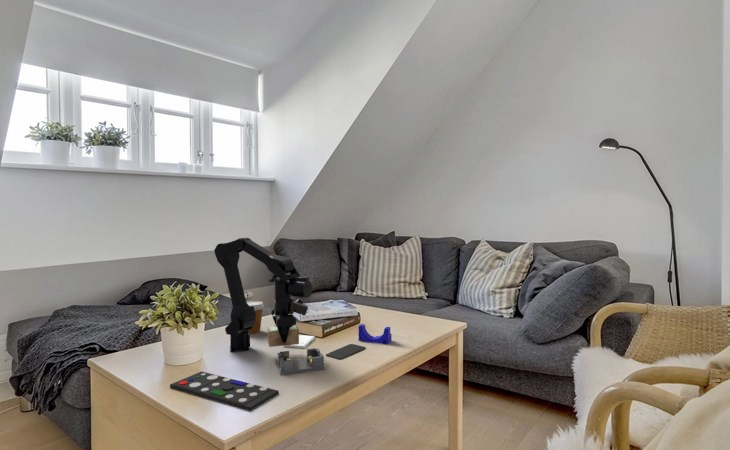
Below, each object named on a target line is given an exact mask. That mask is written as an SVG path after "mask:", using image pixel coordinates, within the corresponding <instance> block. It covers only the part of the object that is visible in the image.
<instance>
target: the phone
mask: <svg viewBox="0 0 730 450" xmlns="http://www.w3.org/2000/svg"><path fill="white" fill-rule="evenodd" d="M364 350H366V347H365V346H362V345H360V344H354V343H350V344H347V345H344V346H342V347H339V348H337V349H334V350H332V351H330V352H328V353H326V354H325V356H326V357H327V358H332V359H335V360H344V359H347V358H348V357H351V356H354V355H355V354H357V353H359V352H363V351H364Z"/></svg>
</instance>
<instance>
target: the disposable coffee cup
mask: <svg viewBox="0 0 730 450" xmlns="http://www.w3.org/2000/svg"><path fill="white" fill-rule="evenodd" d="M246 302H247V304H248V305H249V306H253V307H254V311H255V314H256V317H255V319H256V321H255V323H254V325H253V327H252V330H249V331H248V334H250V335H252V334H253V335H254V334H258V333H260V332H261V328H262V319H263V318H262V317H263V310H264V307H265V305H264V303H263V301H260V300H251V301H246Z"/></svg>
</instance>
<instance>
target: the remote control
mask: <svg viewBox="0 0 730 450" xmlns="http://www.w3.org/2000/svg"><path fill="white" fill-rule="evenodd" d="M169 388H170V389H173V390H177V391H181V392H183V393H188V394H190V395H195V396H198V397H200V398H205V399H207V400H211V401H215V402H217V403H222V404H224V405H228V406H232V407H236V408H239V409H243V410H246V411H249V412H251V411H253V410H255V408H258V407H260V406H261V405H263V404H264V403H266V402H268V401H270V400H271V399H273V398H274V397H276V396H277V395H279V394H280V393H279V392H280V390H277V389H274V388H270V387H266V386H261V385H257V384H254V383H250V382H245V381H243V380H237V379H234V378H229V377H225V376H221V375H219V374H218V375H217V374H213V373H209V372H207V371H200V372H196V373H193V374H192V375H189V376H186V377H184V378H182V379H180V380H177V381H174V382H173V383H170V384H169Z"/></svg>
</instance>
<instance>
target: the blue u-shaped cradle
mask: <svg viewBox="0 0 730 450" xmlns="http://www.w3.org/2000/svg"><path fill="white" fill-rule="evenodd" d="M358 341H359V342H365V343H374V344H382V345H389V344H390V343H391V342H392V333H391V326H386V327H384V329H383V333H382V334H381V335H376V336H373V335H371V334H370V333H369V332H368V330H367V329H366V324H365V323H364V324H363V323H361V324H359V325H358Z"/></svg>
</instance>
